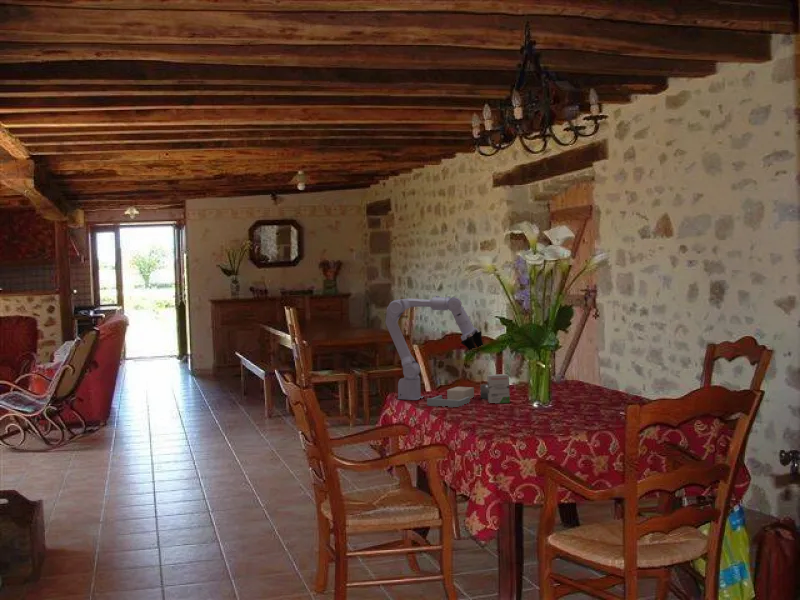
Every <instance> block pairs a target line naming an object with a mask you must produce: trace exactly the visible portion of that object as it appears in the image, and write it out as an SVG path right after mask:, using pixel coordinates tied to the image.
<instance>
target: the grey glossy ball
mask: <svg viewBox="0 0 800 600" xmlns="http://www.w3.org/2000/svg"><path fill="white" fill-rule="evenodd" d="M479 387H480V390H479V391H480V399H481V398H482V399H488V383H483V384H480V386H479ZM482 399H481V400H482Z"/></svg>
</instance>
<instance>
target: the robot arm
mask: <svg viewBox="0 0 800 600" xmlns="http://www.w3.org/2000/svg"><path fill="white" fill-rule="evenodd" d="M414 307H416V308H418V307H419V308H421V307H423V308H425V307H426V308H427V307H429V308H430V309H431V310H432V311H448V310H449V312H451V314H452V317H453V319H454V320H455V323H456V325H457V327H458V328H459V330H460V332H461V334H462V335H461V336H460V339H461V342H460V343H461V344H462V345H463V346H464V347H466V349H468V351H470V349H472V348H476V349H477V348H478V347H479V346H481V345H483V346H484V343H483V337H482V336H483V335H482V331H481V330H480V331H479V329H478V328H477V327H474V325H473V324H472V323H473V322H472V321H471V319H470V317H469V315H468V314H467V311H466V310H465V309H464V306H463V304H462V300H461V299H460V298H459V297H455V296H453V297H451V296H447V297H446V296H445V297H444V296H440V295H435V296H432V298H430V299H426V298H425V299H422V298H411V297H409V298H402V299H401V298H400V299H395V300H392V301H390V303H389V304H388V306H387V308H386V313H385V314H386V315H385V325H386V328H387V330H388V332H389V334H390V337H391V339H392V341H393V344H394V346H395V348H396V351H397V354H398V355H399V358H400V360H401V366H402V373H403V376H404V377H401V378H400V379H399V380H398V383H397V395H398V397H397V400H407V401H408V400H409V401H418V400H420V398H421V399H423V397H424V398H425V395H424V396H423V395H422V396H421V392H422V391H421V376H420V375H419V374H420V373H421V366H420V364H419V363H418V362H416V360H415V358H414V356H413V355H412V352H411V351H410V348H409V346H408V344H407V342H406V338H405V337H404V335H403V332H402V330H401V328H400V326H399V320H400V318H401V315H403V314H404V312H405V311H406V310H407V309H410V308H414Z"/></svg>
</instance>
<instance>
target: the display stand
mask: <svg viewBox="0 0 800 600" xmlns="http://www.w3.org/2000/svg"><path fill="white" fill-rule="evenodd" d="M469 402H470V403H471V400H470V397H466V398H463V399H461V400H448V399H447V398H446V399H444V398H443V395H442V394H440V395H437V396H434V397H431V398H430V397H428V398H426V405H427V406H428V407H438V406H442V408H446V407H445V406H448V407H447V408H453V407H459V406H461V407H463V406H465V405H464V404H466V405H468V404H470V403H469ZM467 403H468V404H467ZM462 405H463V406H462ZM459 408H460V407H459Z"/></svg>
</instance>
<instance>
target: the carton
mask: <svg viewBox="0 0 800 600" xmlns="http://www.w3.org/2000/svg"><path fill="white" fill-rule="evenodd" d="M446 392H447V395H446V397H447V398H446V399H448V400H461V399H463V398H466V397H470V399H471V398H473V397H474V398H475V387H473V386H472V387H471V386H469V387H468V386H454V387H451V388H449V389H447V390H446ZM471 400H472V399H471Z"/></svg>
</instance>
